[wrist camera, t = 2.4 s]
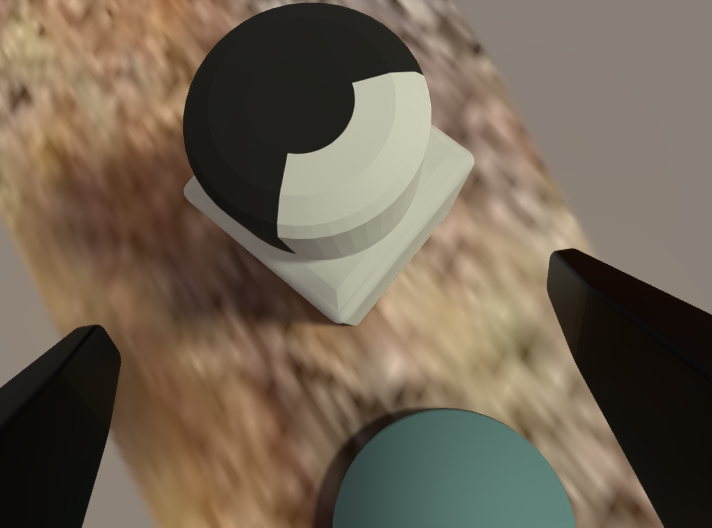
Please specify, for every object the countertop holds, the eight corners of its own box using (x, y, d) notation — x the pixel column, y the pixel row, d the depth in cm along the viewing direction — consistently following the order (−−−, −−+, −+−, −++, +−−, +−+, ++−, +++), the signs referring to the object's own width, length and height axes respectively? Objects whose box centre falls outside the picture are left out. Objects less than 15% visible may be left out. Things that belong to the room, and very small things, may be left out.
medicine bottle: (239, 234, 23) (82, 127, 11) (334, 123, 23) (283, -95, 11) (354, 330, 22) (318, 325, 10) (450, 211, 22) (525, 73, 10)
